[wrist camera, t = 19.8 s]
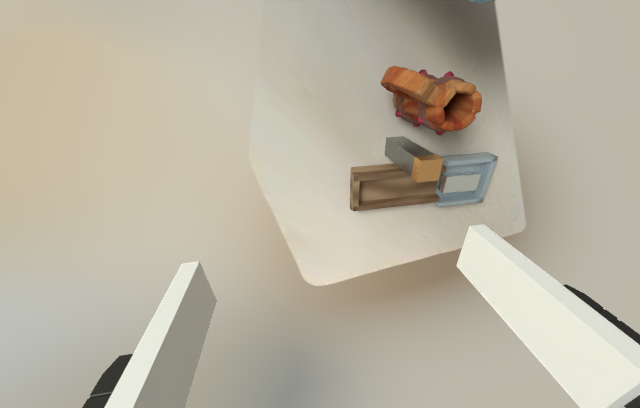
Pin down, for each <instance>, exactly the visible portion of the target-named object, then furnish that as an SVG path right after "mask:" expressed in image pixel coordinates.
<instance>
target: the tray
mask: <svg viewBox="0 0 640 408" xmlns="http://www.w3.org/2000/svg"><path fill="white" fill-rule="evenodd" d="M441 158H443V159H444V160H443V165H444V166H446V167H447V169H446V172H451V171H465V170H475V171H477V172H479V173H481V177H480V180H479V183H478V186H477V189H476V190H474V191H465V192H451V193H442V192H441V191H439V190H438V189H437V188H436V192H435V194H437V195H438V196H439V197H440V198H439V202H433V203H434V204H435V205H436V206H437V207H442V206H451V205H459V204H468V203H477V202H482V201H483V198H484V195H485V192H486V190H487V187H488V184H489V181H490V178H491V175H492V173H493V170H494V167H495V164H496V161H497V158H498V157H497V156H495V155H493V154H490V153H488V152H487V153H476V154H466V155H455V156H445V157H441ZM437 185H438V184H437Z"/></svg>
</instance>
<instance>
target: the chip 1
mask: <svg viewBox="0 0 640 408" xmlns="http://www.w3.org/2000/svg"><path fill="white" fill-rule="evenodd" d="M463 179H464V175H463V174H462V173H460V172H458V171H451V172H445V173H440V176H439V181H438V185H437V189H438V190H439V191H441V192H442V193H451V192H460V189H461V185H462V182H463Z"/></svg>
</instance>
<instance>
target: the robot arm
mask: <svg viewBox="0 0 640 408" xmlns="http://www.w3.org/2000/svg"><path fill="white" fill-rule="evenodd" d="M469 1H471V2H475V3H485V2H490V1H494V0H469ZM456 266H457V267H458V268H459V270H460V271H461V272H462V273H463V274H464V275H465V276H466V278H467V279H468V280H469V281H470V282H471V283H472V284H473V286H474V287H475V288H476V289H477V290H478V291H479V292H480V293H481V295H482V296H483V297H484V298H485V299H486V300H487V302H488V303H489V304H490V305H491V306H492V307H493V308H494V310H495V311H496V312H497V313H498V314H499V315H500V316H501V317H502V319H503V320H504V321H505V322H506V323H507V324H508V326H509V327H510V328H511V329H512V330H513V331H514V332H515V334H516V335H517V336H518V337H519V338H520V339H521V340H522V341H523V343H524V344H525V345H526V346H527V347H528V348H529V350H530V351H531V352H532V353H533V354H534V355H535V356H536V358H537V359H538V360H539V361H540V362H541V363H542V364H543V366H544V367H545V368H546V369H547V370H548V371H549V372H550V374H551V375H552V376H553V377H554V378H555V379H556V380H557V382H558V383H559V384H560V385H561V386H562V387H563V388H564V390H565V391H566V392H567V393H568V394H569V395H570V396H571V398H572V399H573V400H574V401H575V402H576V403H577V405H578V406H579V407H580V408H622V407H626V408H640V335H639V334H638V333H637V332H635V331H634V330H633V329H631V328H630V327H629V326H627V325H626V324H625V323H623V322H622V321H618V320H617V317H615V316H614V315H612V314H611V313H610V312H608V311H607V310H604V309H603V307H602V306H600V305H599V304H598V303H596V302H595V301H593V300H592V299H591V298H590V297H588V296H587V295H586V294H584V293H582V292H580V291H578V290H576V289H574V288H572V287H570V286H568V285H562V284H560V283H559V282H558V281H556V280H555V279H554V278H553V277H551V276H550V275H549V274H547V273H546V272H545V271H543V270H542V269H541V268H540V267H538V266H537V265H536V264H535V263H533V262H532V261H531V260H529V259H528V258H527V257H526V256H524V255H523V254H521V253H520V252H519V251H518V250H516V249H515V248H514V247H513V246H511V245H510V244H508V243H507V242H506V241H505V240H503V239H502V238H501V237H500V236H498V235H497V234H496V233H495V232H493V231H492V230H491V229H489V228H488V227H487V226H485V225H484V224H482V225H474V226H469V229H468V232H467V235H466V238H465V241H464V244H463V247H462V250H461V254H460V257H459V260H458V263H457V265H456ZM216 301H217V300H216V298H215V296H214V294H213V291H212V289H211V287H210V284H209V282H208V280H207V277H206V275H205V273H204V271H203V268H202V266H201V264H200V262H191V263H183V264H182V265H181V266H180V268H179V270H178V272H177V274H176V276H175V277H174V280H173V281H172V283H171V285H170V287H169V289H168V291H167V292H166V294H165V296H164V298H163V300H162V302H161V304H160V305H159V307H158V309H157V311H156V313H155V315H154V317H153V318H152V320H151V322H150V324H149V326H148V328H147V329H146V331H145V333H144V335H143V337H142V339H141V341H140V342H139V344H138V346H137V348H136V350H135V352H134V354H129V355H122V356H119V357H118V358H117V359H116V361H114V362H113V364H112V365H111V366H110V367H109V368H108V369H107V370H106V371H105V372H104V373H103V374H102V376H101V378H100V379H99V381H98V383H97V385H96V386H95V388H94V389H93V391H92V393H91V394H90V396H91V397H90V398H89V399H88V400H87V401H86V403H85V404H84V406H83V408H184V407H185V404H186V401H187V397H188V394H189V391H190V387H191V384H192V381H193V377H194V374H195V371H196V367H197V364H198V361H199V358H200V354H201V351H202V348H203V344H204V341H205V338H206V334H207V331H208V328H209V324H210V321H211V318H212V314H213V311H214V308H215V304H216Z"/></svg>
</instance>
